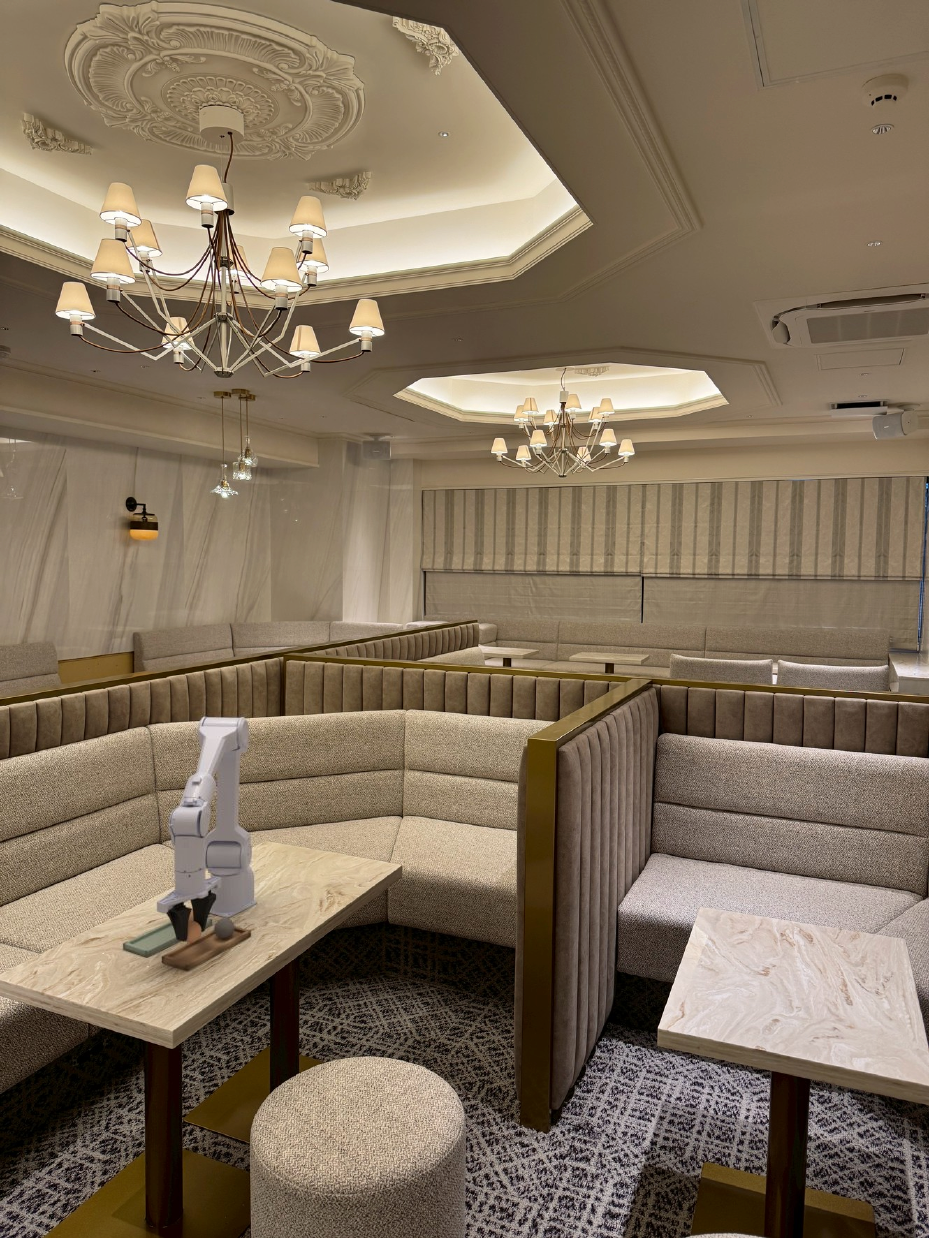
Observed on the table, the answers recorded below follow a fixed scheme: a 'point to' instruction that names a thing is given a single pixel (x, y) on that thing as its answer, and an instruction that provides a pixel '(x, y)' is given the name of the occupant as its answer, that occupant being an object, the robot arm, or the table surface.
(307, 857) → the table surface
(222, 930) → the charcoal ball
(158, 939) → the trough green
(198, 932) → the terracotta ball
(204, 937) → the trough walnut
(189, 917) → the terracotta ball
